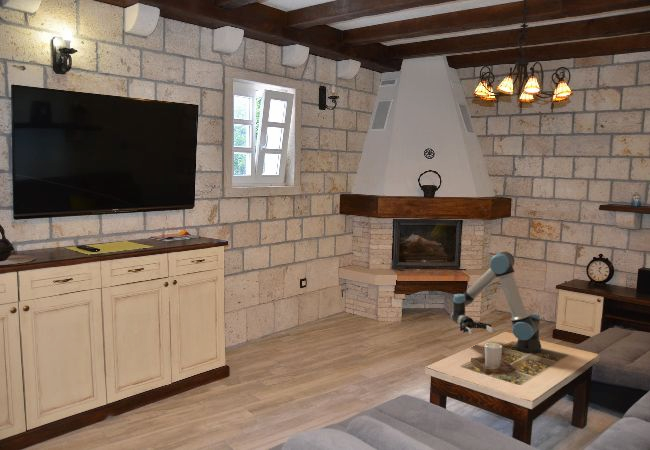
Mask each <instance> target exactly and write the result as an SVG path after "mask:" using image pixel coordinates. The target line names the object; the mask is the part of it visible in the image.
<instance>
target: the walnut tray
mask: <svg viewBox="0 0 650 450" xmlns="http://www.w3.org/2000/svg"><path fill="white" fill-rule="evenodd" d="M470 363H471V364H472V365H473V366H475V367H476V368H478V369H479V370H480V371H482V372H483V373H484V374H486V375H487V374H498V373H499V374H500V373H502V374H503V373H513V372H516V366H514V365H513V364H511V363H509V362H508V361H507V360H506V359H504V358H503V357H501V364H500V367H494V368H489V367H487V366H486V365H485V356H481V357H479V356H478V357H471V358H470Z"/></svg>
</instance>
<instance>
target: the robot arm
mask: <svg viewBox="0 0 650 450" xmlns="http://www.w3.org/2000/svg"><path fill="white" fill-rule="evenodd" d="M515 263H516V262H515V257H514V256H513V254H512V253H510V252H509V251H502V252H501V251H500V252H499V253H497V254H494V255H493V256H492V257H491V259H490V260H489V268H488V269H487V270H486V271H485V272H484V273H483V274H482V275H480V277H479V278H478V279H477V280H476V281H475V282H474V283H473V284H472V285H471V286H470V287H469V288H468V289H466V291H464V293H463V294H462V293H455V294H454V295H453V302H452V303H453V305H452V306H453V309H452V310H453V311H452V313H451V314H450V318H451V320H452V321H453V323H455V324H458V326H459V329H460V330H459V331H460V332H463V333H468V334H469V335H473V329H482V330H486V331H488V332H489V333H492V334H493V333H494V328H493V327H492V324H489V323H486V322H481V321H478V322H476V321H474V319H473V318H471V317H470V316H468V315H466V307H467V306H468V305H470V304H473V302H474V301H475V299H476V298H478V296H479V295H480V294H482V293H483V292H484V291H485V290H486V289H487V288H488V287H489V286H490V285H491V284H492V283H493V282H494V281H495V280H496V279H498V280H499V282H500V285H501V288H502V291H503V294H504V296H505V300H506V302H507V305H508V308H509V311H510V313H511V318H510V322H511V324H512V327H511V328H512V330H511V331H512V334H513V335H514V337H515V338H516V339H517V341H516V343H515V348H516V349H517V350H518V351H520V352H524V353H530V354H537V353H540V352H542V344H541V341H540V326H541V325H540V322H541V316H540V315H539V314H537V313H532V312H527V310H526V308H525V305H524V303H523V300H522V297H521V296H522V295H521V293H520V289H519V287H518V285H517V283H516V280H515V277H514V274H515V273H516V272H515V268H514V265H515Z"/></svg>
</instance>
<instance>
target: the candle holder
mask: <svg viewBox="0 0 650 450" xmlns="http://www.w3.org/2000/svg"><path fill="white" fill-rule="evenodd" d="M502 355H503V345H501V344H499V343H495V342H487V343H484V357H485V365H486V366H487V367H489V368H494V367H500V364H501V358H502Z"/></svg>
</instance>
